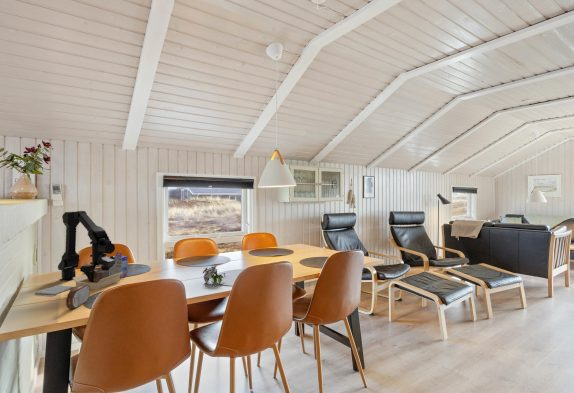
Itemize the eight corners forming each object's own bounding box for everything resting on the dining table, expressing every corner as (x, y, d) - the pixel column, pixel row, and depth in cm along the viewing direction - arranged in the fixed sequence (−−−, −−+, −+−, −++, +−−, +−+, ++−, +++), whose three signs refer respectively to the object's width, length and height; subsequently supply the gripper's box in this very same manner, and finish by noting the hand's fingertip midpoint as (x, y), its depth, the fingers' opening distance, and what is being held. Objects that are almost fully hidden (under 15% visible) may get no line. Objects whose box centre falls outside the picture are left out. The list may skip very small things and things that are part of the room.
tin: (84, 299, 151) (84, 282, 151) (91, 299, 152) (91, 281, 152) (65, 311, 136) (64, 292, 136) (73, 311, 137) (72, 291, 137)
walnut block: (88, 284, 174) (87, 272, 174) (95, 282, 179) (95, 269, 179) (102, 285, 172) (102, 272, 172) (109, 283, 177) (109, 270, 177)
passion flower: (206, 293, 176) (198, 273, 180) (224, 286, 182) (216, 267, 186) (210, 286, 167) (202, 266, 172) (229, 279, 173) (220, 259, 178)
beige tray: (72, 288, 170) (72, 277, 170) (96, 280, 185) (96, 270, 185) (101, 290, 166) (101, 279, 166) (123, 281, 182) (123, 271, 182)
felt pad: (34, 294, 160) (34, 292, 160) (56, 287, 172) (56, 285, 172) (54, 295, 158) (54, 293, 158) (75, 288, 169) (75, 286, 169)
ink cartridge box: (128, 276, 193) (128, 252, 193) (122, 278, 188) (121, 254, 188) (114, 275, 195) (113, 251, 195) (107, 278, 190) (107, 253, 190)
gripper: (97, 256, 165) (98, 286, 165) (123, 249, 183) (123, 276, 183) (79, 255, 167) (79, 285, 167) (106, 249, 185) (106, 276, 185)
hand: (98, 280), depth 176 cm, fingers open, 9 cm apart
